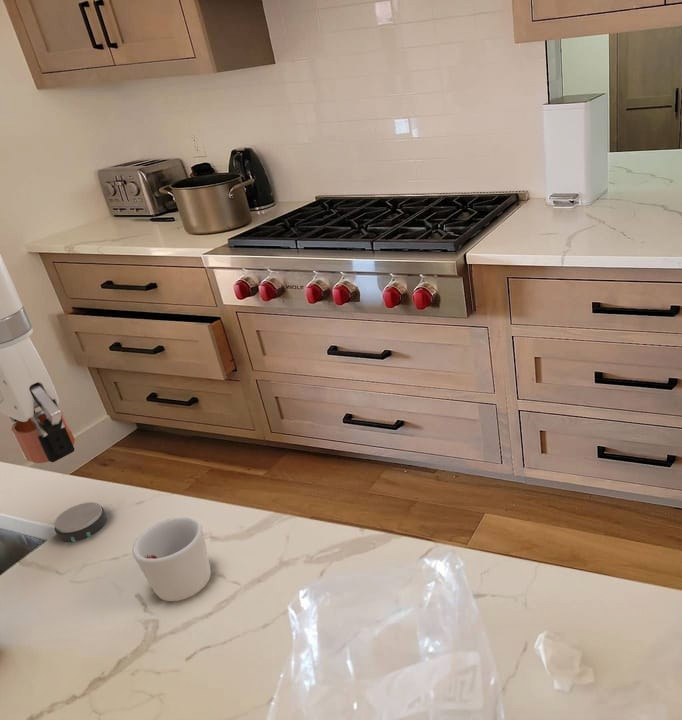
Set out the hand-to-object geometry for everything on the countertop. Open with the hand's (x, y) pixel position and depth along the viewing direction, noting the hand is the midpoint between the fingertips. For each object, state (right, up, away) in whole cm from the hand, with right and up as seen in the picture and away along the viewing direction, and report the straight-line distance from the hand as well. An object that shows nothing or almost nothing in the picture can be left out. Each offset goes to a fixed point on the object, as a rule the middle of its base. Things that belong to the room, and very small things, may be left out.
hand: (49, 448), depth 92 cm
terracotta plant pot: (0, 0, 0) cm, 1 cm away
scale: (+1, -13, +6) cm, 14 cm away
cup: (+20, -16, -5) cm, 26 cm away
